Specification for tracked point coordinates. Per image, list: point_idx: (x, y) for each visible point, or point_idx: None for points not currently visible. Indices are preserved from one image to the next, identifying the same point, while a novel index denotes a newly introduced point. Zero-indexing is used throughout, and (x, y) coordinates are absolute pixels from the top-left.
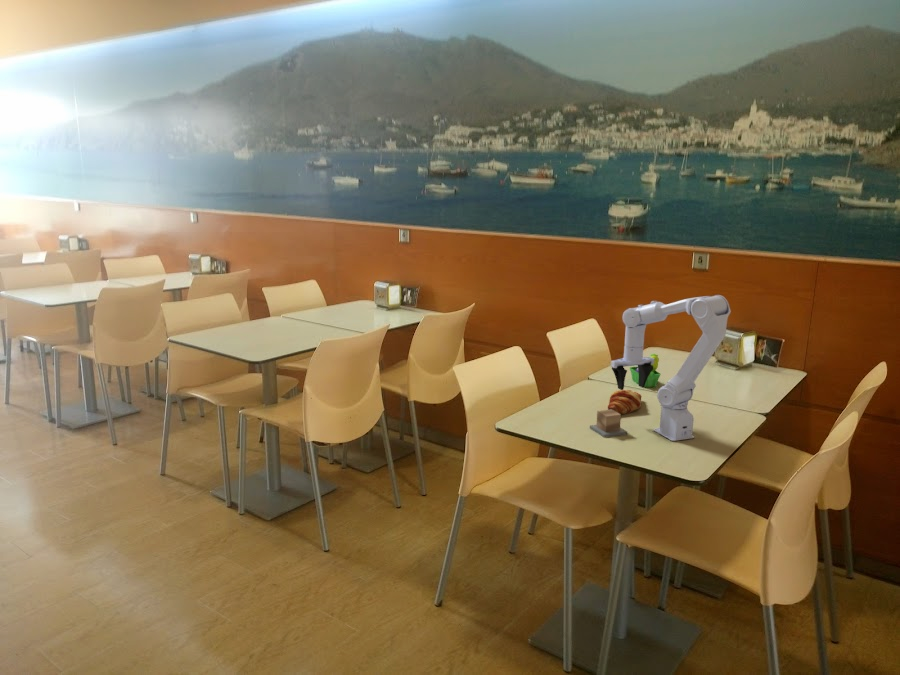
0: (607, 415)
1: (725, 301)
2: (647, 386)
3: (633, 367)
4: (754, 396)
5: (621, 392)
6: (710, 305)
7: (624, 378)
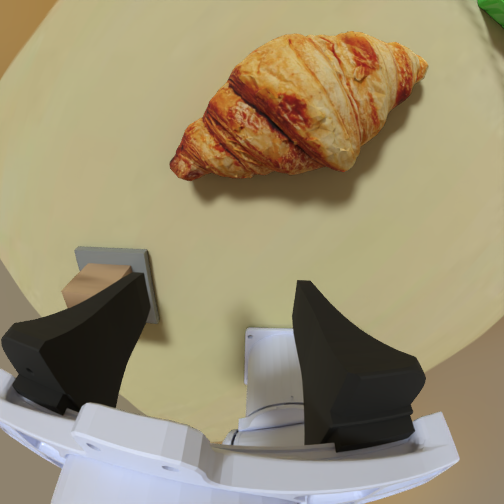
0: None
1: None
2: (489, 14)
3: None
4: None
5: (277, 105)
6: None
7: (121, 373)
